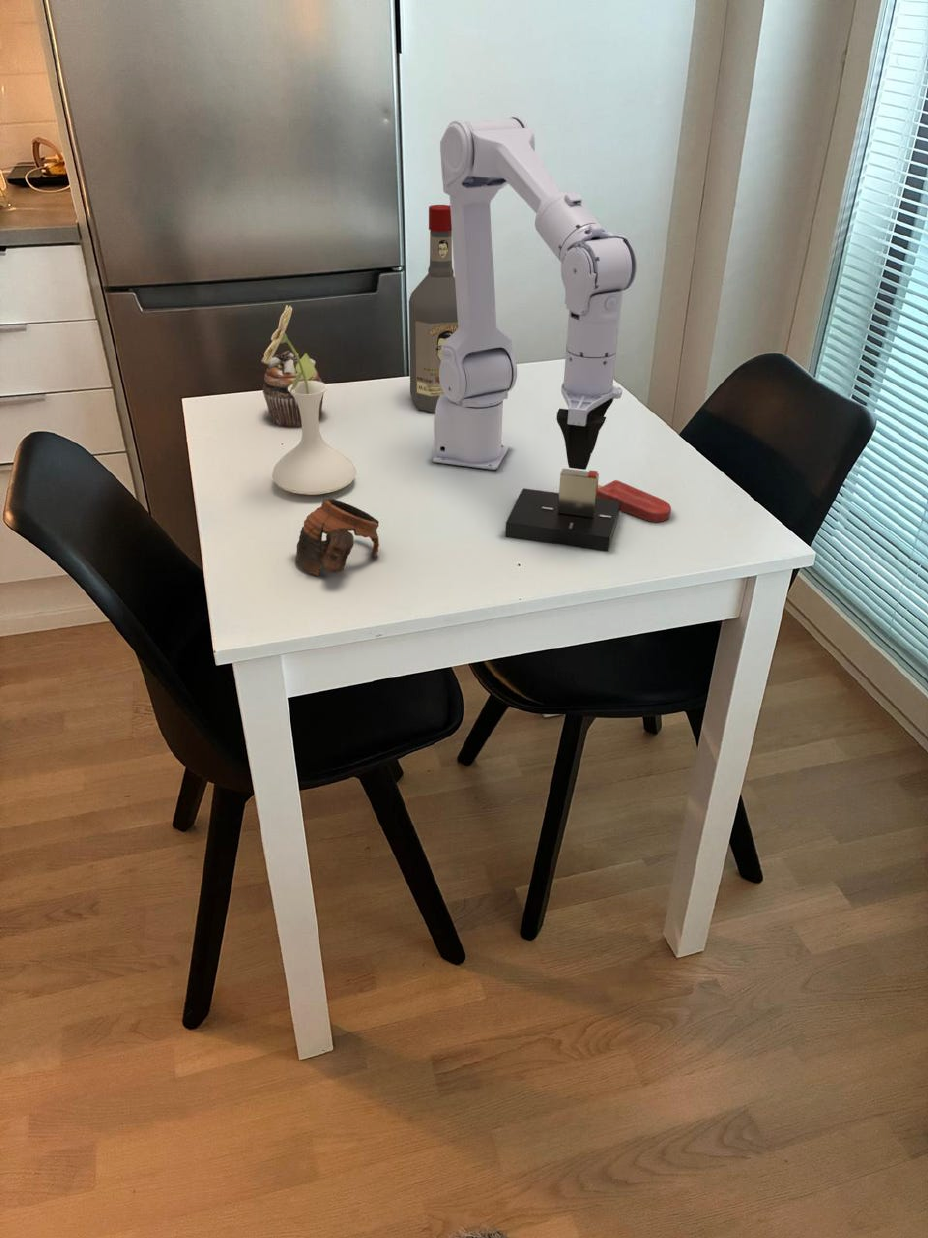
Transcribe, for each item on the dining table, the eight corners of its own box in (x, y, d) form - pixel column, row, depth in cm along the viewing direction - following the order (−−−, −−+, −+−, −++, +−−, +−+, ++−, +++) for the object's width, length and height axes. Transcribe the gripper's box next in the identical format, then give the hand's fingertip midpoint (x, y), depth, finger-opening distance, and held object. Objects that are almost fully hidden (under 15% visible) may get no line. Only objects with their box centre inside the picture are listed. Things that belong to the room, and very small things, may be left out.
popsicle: (586, 467, 132) (678, 503, 124) (584, 478, 133) (676, 515, 125) (566, 477, 129) (659, 515, 121) (565, 488, 130) (657, 527, 122)
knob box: (505, 536, 119) (505, 521, 118) (522, 501, 127) (522, 486, 126) (608, 551, 116) (610, 535, 115) (618, 514, 124) (620, 499, 123)
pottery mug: (287, 549, 117) (312, 487, 115) (358, 576, 120) (383, 516, 118) (291, 576, 106) (319, 508, 104) (369, 605, 108) (398, 539, 107)
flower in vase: (297, 461, 137) (281, 282, 123) (370, 473, 133) (362, 292, 119) (251, 499, 126) (227, 310, 112) (328, 514, 123) (314, 321, 109)
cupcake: (252, 420, 149) (244, 357, 143) (292, 401, 156) (287, 340, 150) (299, 434, 145) (294, 370, 139) (339, 413, 151) (335, 352, 146)
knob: (557, 513, 120) (560, 471, 117) (559, 507, 121) (562, 466, 118) (593, 518, 119) (597, 476, 116) (595, 512, 121) (599, 470, 117)
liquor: (407, 394, 159) (404, 201, 142) (460, 390, 161) (463, 200, 144) (418, 414, 152) (416, 214, 135) (474, 410, 154) (478, 212, 137)
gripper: (617, 374, 102) (605, 488, 110) (633, 334, 114) (621, 440, 121) (553, 367, 103) (545, 480, 111) (575, 328, 115) (566, 433, 123)
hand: (581, 459), depth 116 cm, fingers open, 4 cm apart
